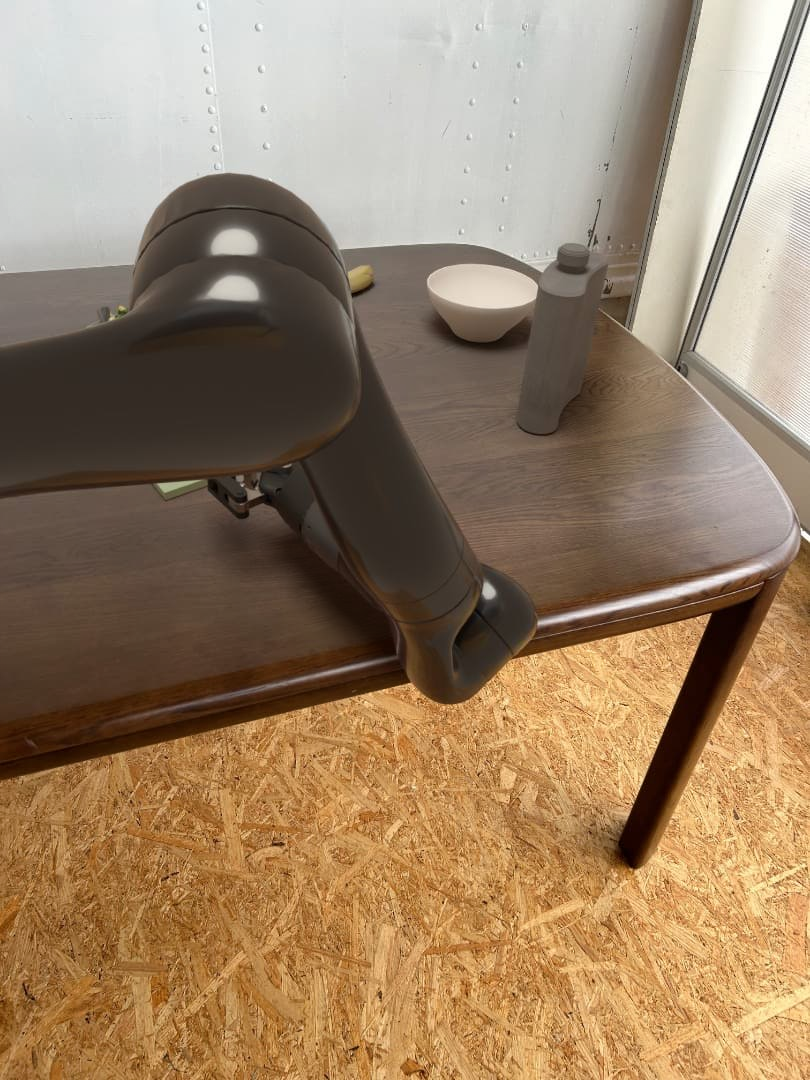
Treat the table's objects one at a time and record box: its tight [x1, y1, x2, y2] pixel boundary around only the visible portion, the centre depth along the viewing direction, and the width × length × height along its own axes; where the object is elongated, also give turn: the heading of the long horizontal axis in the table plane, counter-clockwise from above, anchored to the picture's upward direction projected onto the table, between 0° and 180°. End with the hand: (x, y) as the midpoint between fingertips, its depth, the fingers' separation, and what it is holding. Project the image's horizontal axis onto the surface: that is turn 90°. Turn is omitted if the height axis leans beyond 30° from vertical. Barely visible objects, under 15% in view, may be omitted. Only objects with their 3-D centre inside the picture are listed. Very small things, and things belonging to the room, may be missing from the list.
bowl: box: [426, 263, 538, 343], centre depth 113 cm, size 16×16×7 cm
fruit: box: [347, 264, 375, 294], centre depth 122 cm, size 7×15×3 cm, turn 114°
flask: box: [516, 242, 610, 435], centre depth 93 cm, size 15×6×20 cm, turn 154°
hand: (250, 431), depth 77 cm, fingers open, 8 cm apart
